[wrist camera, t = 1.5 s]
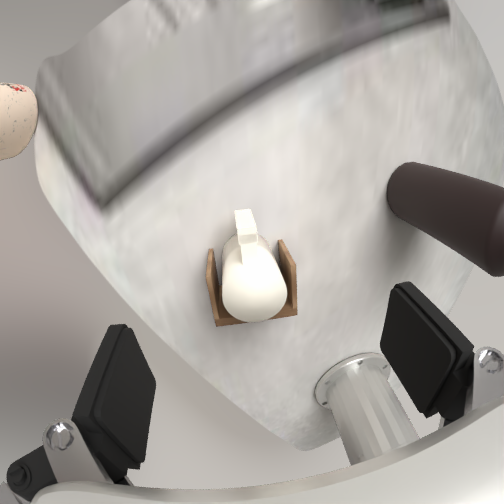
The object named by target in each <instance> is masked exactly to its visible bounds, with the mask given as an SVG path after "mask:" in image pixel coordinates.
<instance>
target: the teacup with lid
mask: <svg viewBox="0 0 504 504" xmlns="http://www.w3.org/2000/svg"><path fill="white" fill-rule="evenodd" d="M37 116H38V106H37V100H36V97H35V95H34V93H33V92H32V91H31V89H30V88H28V87H26V86H24V85H17V84H9V83H0V160H4V159H8V158H12V157H15V156H17V155H18V154H20V153H21V152H22V151H23V150H24V149H25V148H26V146H27V145H28V143H29V142H30V140H31V138H32V136H33V133H34V130H35V127H36V123H37Z"/></svg>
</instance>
